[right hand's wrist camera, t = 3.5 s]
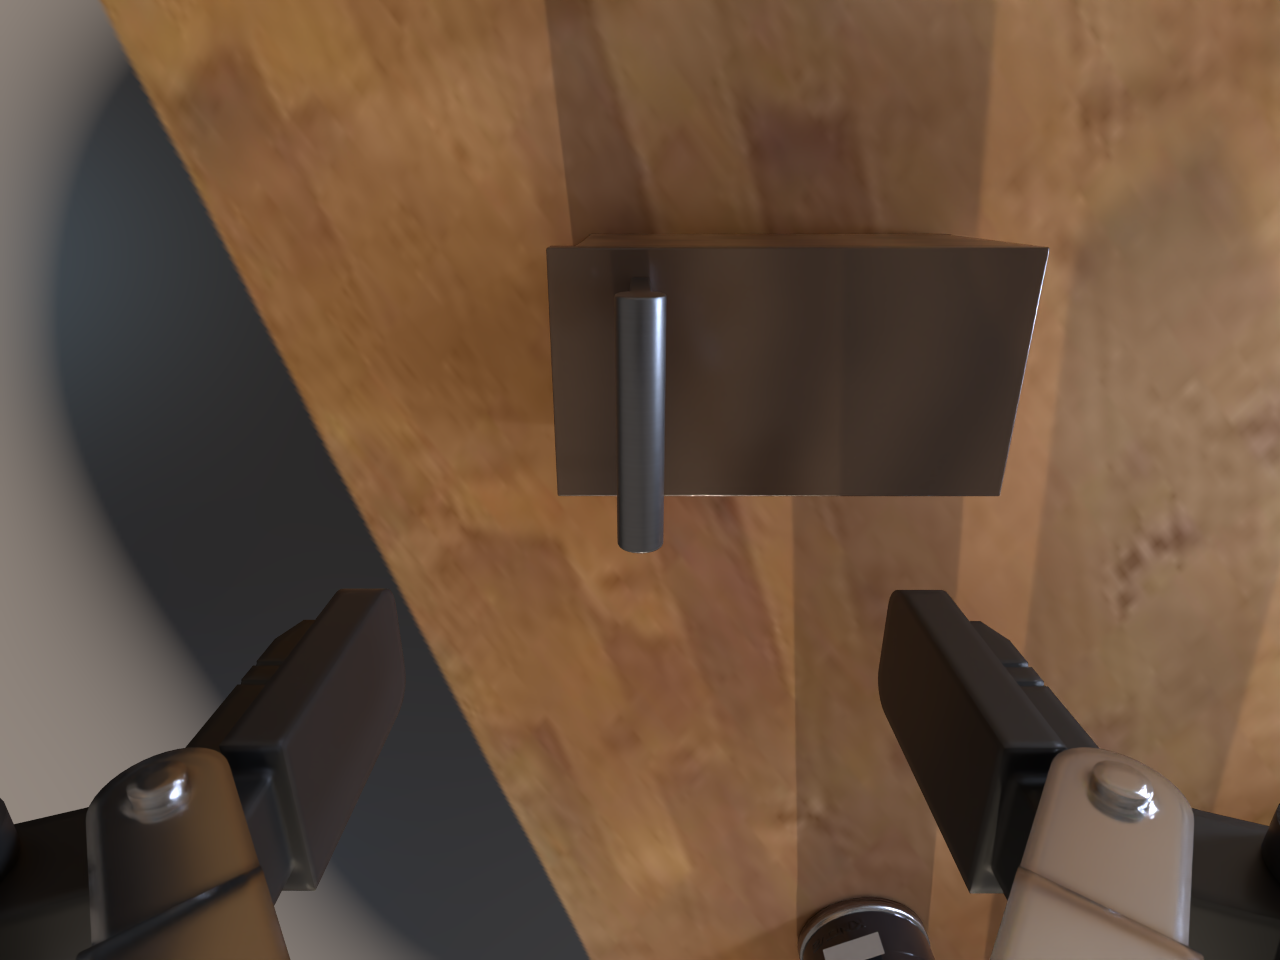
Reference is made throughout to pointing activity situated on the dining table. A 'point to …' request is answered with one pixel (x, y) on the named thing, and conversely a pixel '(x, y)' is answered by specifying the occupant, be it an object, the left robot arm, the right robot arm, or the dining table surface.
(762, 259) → the lid
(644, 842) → the dining table surface
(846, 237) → the chest
